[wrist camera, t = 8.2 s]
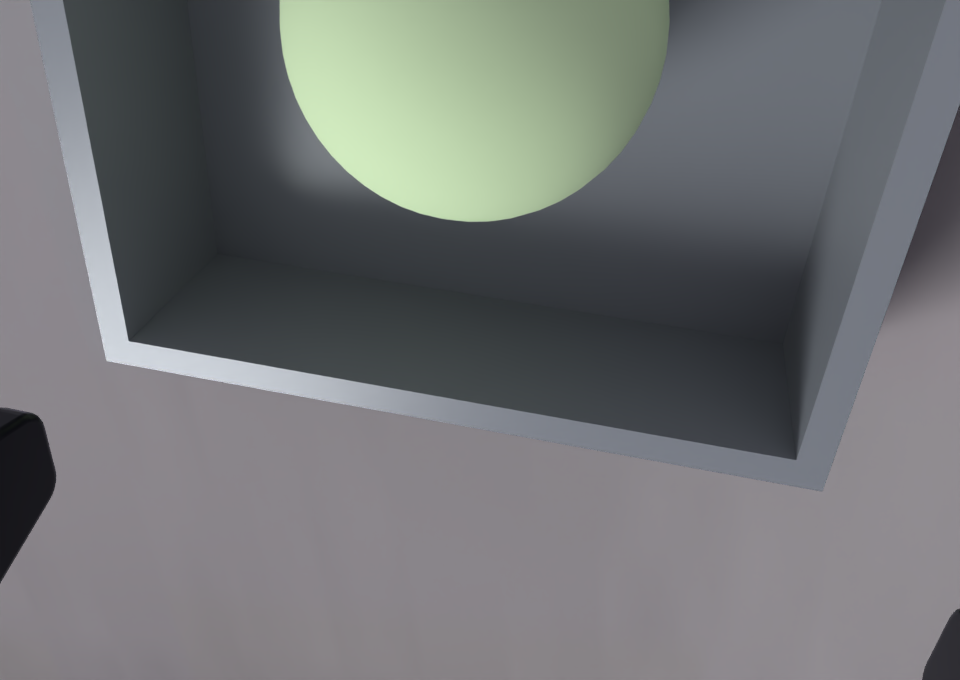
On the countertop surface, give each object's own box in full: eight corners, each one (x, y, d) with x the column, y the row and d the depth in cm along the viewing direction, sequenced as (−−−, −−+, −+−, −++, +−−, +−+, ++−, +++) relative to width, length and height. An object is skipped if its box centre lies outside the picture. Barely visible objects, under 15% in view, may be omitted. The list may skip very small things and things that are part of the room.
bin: (1066, -509, 12) (1218, -629, 8) (802, 356, 20) (822, 491, 16) (109, -526, 14) (-104, -627, 11) (208, 261, 22) (106, 360, 18)
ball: (714, -183, 14) (691, -160, 9) (653, 169, 18) (611, 321, 13) (362, -212, 15) (176, -206, 11) (365, 124, 19) (225, 249, 14)
